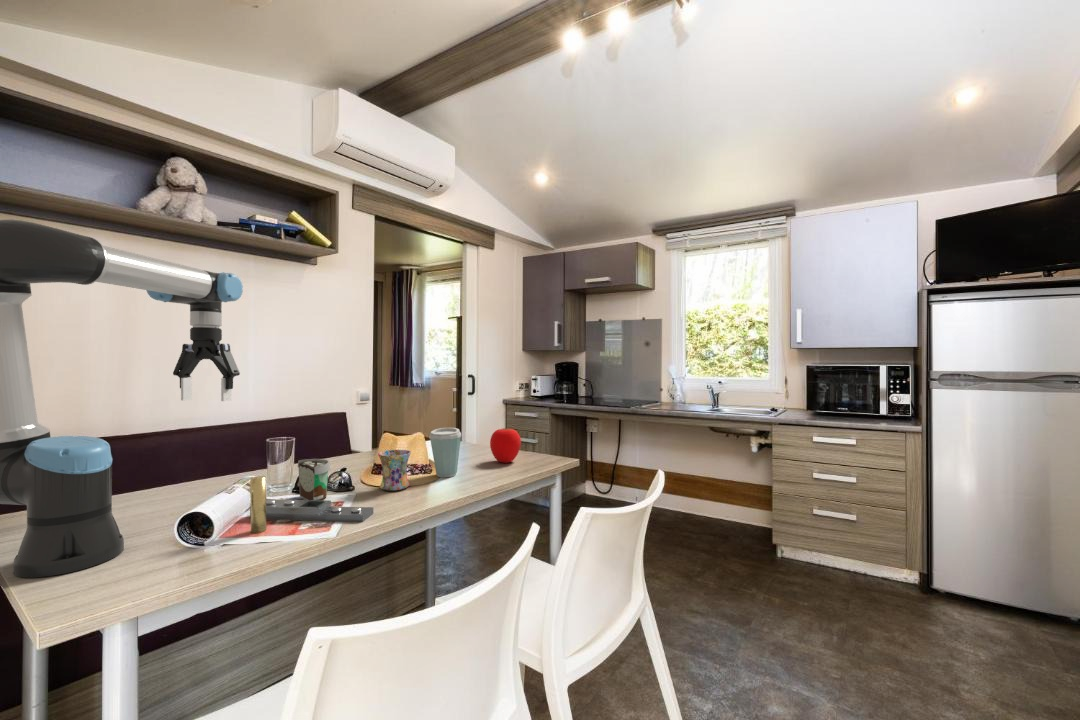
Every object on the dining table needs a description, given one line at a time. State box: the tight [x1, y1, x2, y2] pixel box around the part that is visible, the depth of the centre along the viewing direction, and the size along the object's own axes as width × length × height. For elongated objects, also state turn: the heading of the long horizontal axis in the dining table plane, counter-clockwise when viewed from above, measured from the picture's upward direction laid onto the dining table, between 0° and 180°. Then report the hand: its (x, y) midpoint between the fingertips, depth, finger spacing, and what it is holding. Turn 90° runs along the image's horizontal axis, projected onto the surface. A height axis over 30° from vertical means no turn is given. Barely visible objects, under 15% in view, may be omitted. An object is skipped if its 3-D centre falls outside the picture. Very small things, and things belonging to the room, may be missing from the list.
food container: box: [297, 458, 332, 500], centre depth 132 cm, size 12×6×10 cm, turn 47°
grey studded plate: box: [249, 498, 374, 523], centre depth 116 cm, size 28×6×4 cm, turn 86°
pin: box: [250, 475, 267, 534], centre depth 107 cm, size 3×3×12 cm
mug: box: [377, 449, 412, 492], centre depth 141 cm, size 12×9×11 cm
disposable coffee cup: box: [428, 427, 462, 478], centre depth 156 cm, size 11×11×15 cm
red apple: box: [489, 426, 522, 464], centre depth 174 cm, size 11×11×13 cm
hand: (206, 400), depth 137 cm, fingers open, 13 cm apart
